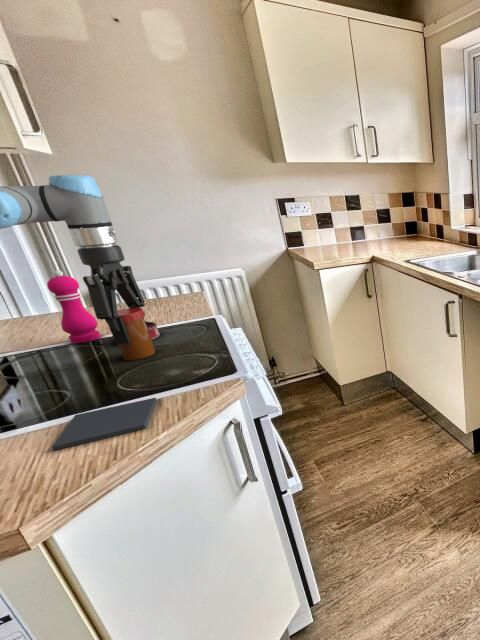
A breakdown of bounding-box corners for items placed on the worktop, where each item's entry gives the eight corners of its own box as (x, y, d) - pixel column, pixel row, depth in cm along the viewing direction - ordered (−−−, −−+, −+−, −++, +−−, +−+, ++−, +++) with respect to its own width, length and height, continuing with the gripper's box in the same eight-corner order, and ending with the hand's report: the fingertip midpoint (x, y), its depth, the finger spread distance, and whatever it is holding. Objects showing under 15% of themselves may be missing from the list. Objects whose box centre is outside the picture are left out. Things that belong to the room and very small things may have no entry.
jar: (120, 362, 104) (104, 321, 100) (126, 354, 109) (111, 315, 105) (153, 356, 107) (138, 316, 103) (157, 348, 112) (143, 310, 108)
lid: (111, 326, 100) (108, 318, 99) (102, 321, 104) (99, 313, 103) (149, 317, 105) (146, 310, 105) (139, 313, 109) (137, 306, 109)
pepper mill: (106, 338, 122) (78, 269, 114) (72, 346, 116) (41, 274, 109) (98, 333, 125) (71, 267, 118) (65, 341, 120) (34, 271, 113)
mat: (53, 450, 69) (51, 446, 69) (76, 418, 79) (75, 414, 79) (145, 428, 75) (144, 424, 75) (157, 400, 85) (155, 397, 84)
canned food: (123, 354, 121) (108, 323, 121) (165, 342, 127) (151, 311, 127) (114, 347, 112) (97, 313, 111) (160, 334, 118) (144, 301, 117)
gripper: (87, 251, 90) (126, 350, 98) (141, 239, 108) (170, 323, 116) (45, 253, 88) (88, 354, 96) (107, 241, 107) (139, 326, 115)
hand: (133, 337), depth 106 cm, fingers closed on lid, 7 cm apart
